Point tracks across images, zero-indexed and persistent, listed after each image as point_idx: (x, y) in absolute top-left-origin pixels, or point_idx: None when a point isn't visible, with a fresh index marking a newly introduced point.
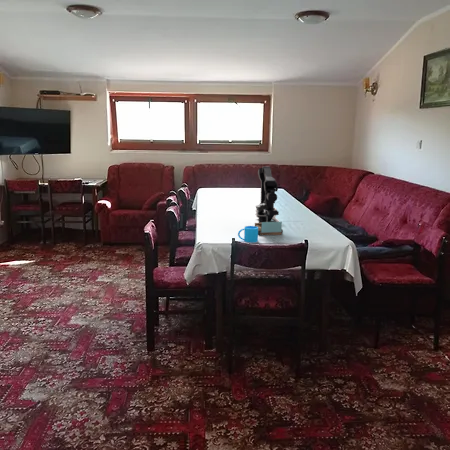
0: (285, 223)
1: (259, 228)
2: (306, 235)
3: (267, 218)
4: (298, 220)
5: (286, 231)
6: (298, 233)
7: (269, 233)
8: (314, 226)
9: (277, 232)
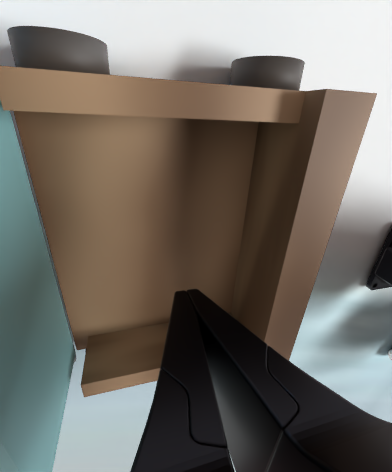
0: (365, 376)
1: (70, 73)
2: (58, 460)
3: (168, 383)
4: None
5: None
6: (121, 425)
7: (48, 226)
8: None
9: (69, 317)
